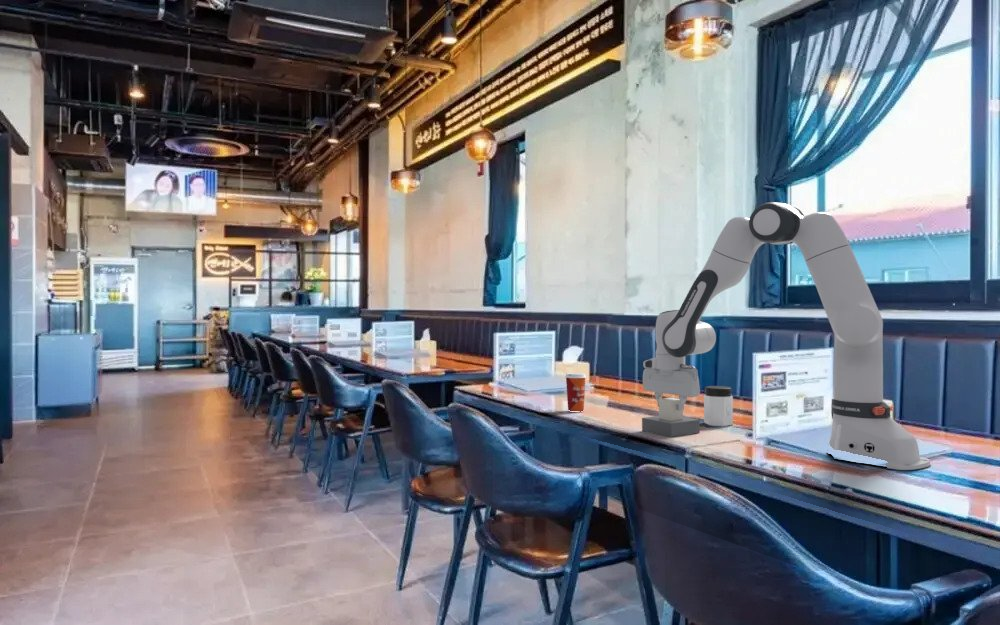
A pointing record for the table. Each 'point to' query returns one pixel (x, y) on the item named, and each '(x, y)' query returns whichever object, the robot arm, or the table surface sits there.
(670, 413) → the block
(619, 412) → the table surface
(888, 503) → the table surface
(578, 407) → the paper cup
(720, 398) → the jar
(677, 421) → the block
